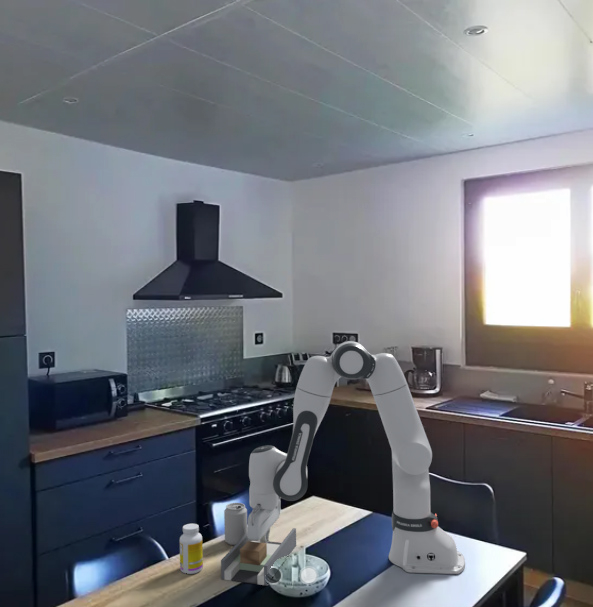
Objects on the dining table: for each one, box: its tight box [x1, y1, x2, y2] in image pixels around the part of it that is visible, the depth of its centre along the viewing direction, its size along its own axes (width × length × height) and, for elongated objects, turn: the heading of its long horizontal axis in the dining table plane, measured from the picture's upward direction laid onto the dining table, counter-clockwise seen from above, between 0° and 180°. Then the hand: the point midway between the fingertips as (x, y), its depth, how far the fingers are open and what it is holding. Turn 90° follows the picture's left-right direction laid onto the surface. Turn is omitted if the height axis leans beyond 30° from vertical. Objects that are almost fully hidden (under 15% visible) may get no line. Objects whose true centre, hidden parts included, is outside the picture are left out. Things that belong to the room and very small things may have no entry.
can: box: [223, 502, 248, 546], centre depth 194 cm, size 8×8×12 cm
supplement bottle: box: [179, 523, 204, 575], centre depth 175 cm, size 7×7×13 cm
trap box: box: [220, 527, 297, 587], centre depth 180 cm, size 14×28×6 cm, turn 163°
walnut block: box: [240, 541, 267, 565], centre depth 175 cm, size 6×6×4 cm
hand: (264, 543), depth 182 cm, fingers closed
